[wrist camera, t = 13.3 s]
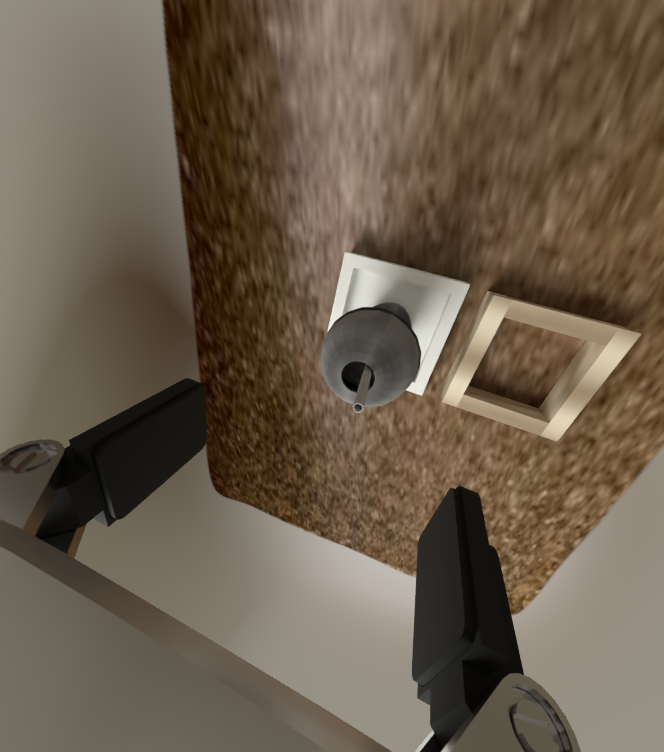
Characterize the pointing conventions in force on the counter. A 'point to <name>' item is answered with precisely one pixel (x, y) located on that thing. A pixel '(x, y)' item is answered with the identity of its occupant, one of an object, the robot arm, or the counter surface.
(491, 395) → the wood holder
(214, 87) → the counter surface
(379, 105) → the counter surface
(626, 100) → the counter surface
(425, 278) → the white tray
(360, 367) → the beverage cup
